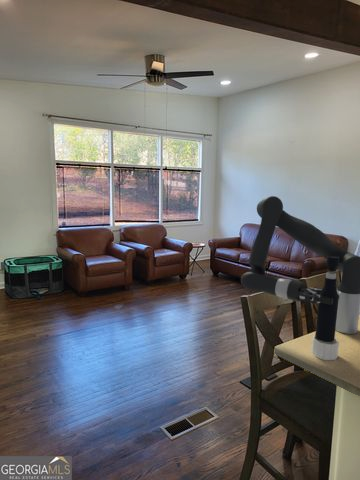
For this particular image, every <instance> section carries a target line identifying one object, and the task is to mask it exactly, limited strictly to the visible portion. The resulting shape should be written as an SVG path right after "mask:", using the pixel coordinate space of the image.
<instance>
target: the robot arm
mask: <svg viewBox="0 0 360 480" xmlns="http://www.w3.org/2000/svg"><path fill="white" fill-rule="evenodd" d="M256 212H257V214H258V216H259V217H260V218H261V219H260V225H259V228H258V232H257V234H256V236H255V238H254V240H253V244H252V246H251V250H250V253H249V258H248V264H249V266H250V271H247V272H244V273H243V274H241V278H240V283H241V286H243V287H244V288H245V289H248V290H251V291H257V292H263V293H265V294H269V295H272V296H277V297H278V298H279V297H280V298H283V299H284V300H285V299H286V300H289V301H290V300H291V301H294V302H298V303H300V302H301V303H302V302H307V303H311V304H315V305H316V304H318V303H325V304H329V305H331V304H333V299H332V298H329V297H324V296H320V293H321V291H322V289H323V288H320V287H317V286H313V287H308V288H307V287H306V286H307V285H306V283H304V282H303V281H299V280H295V279H288V278H282V277H281V278H280V277H276V276H268V275H266V264H267V259H268V255H269V251H270V247H271V242H272V240H273V235H274V233H275V230H276V228H279V229H280V230H282V231H283V232H284V233H285V234H286V235H288V236H290V237H291V238H292V239H294V240H295V242H298V243H299V244H301V245H302V246H304V247H305V248H306V249H308V250H309V251H311V252H312V253H315V254H316V255H318V256H320V257H322V258H323V259H325V260H327V256H337V257H339V263H338V267H336V270H338V271H340V272H341V273H342V276H341V279H340V282H339V283H338V284H337V285H336V289H337V293H338V310H337V320H336V329H335V332H336V331H337V332H339V333H342V334H348V335H355V334H357V333H358V330H359V319H360V256H359V255H356V254H353V253H352V252H349V251H347V250H345V249H343V248H342V247H340V246H338V245H337V244H335V243H334V242H333V240H331V239H330V237H329V236H328V235H326V234H325V232H323V231H322V230H321V229H319V228H318V227H317V226H315V225H314V224H311V223H310V222H307V221H306V220H303V219H301V218H297V217H296V216H294V215H291V214H290V213H288V212H286V211H285V210H284V205H283V201H282V200H281V198H280V197H278V196H275V195H274V196H273V195H271V196H267V197H265V198H262V199H261V200H260V201H259V202H258V204H257V205H256Z"/></svg>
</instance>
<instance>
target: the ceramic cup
mask: <svg viewBox="0 0 360 480" xmlns="http://www.w3.org/2000/svg"><path fill="white" fill-rule="evenodd" d="M339 344H340V341H339V340H338V339H337V338H336V337H335V338H334V341H333V342H324V341H320V340H318V339H317V338H316V337H315V335H313V336H312V341H311V353H312V356H314V357H315V358H317V359H320V360H323V361H335V360H337V359H338V356H339V346H340V345H339Z"/></svg>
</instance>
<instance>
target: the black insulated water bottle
mask: <svg viewBox="0 0 360 480" xmlns="http://www.w3.org/2000/svg"><path fill="white" fill-rule="evenodd" d="M338 263H339V257H337V256H327V259H326V263H325V265H326V266H327V272H326V273H325V274H326V275H325V277H324V285H323V287H322V288H321V289H322V291H321V293H320V296H324V297H329V298H332V299H333V304H331V305H329V304H325V303H317V305H318V306H317V314H316V325H315V335H314V336H315V337H316V338H317V339H318V340H320V341H324V342H333V341H334V338H335V339H336V330H335V329H336V320H337V310H338V293H337V273H336V270H337V268H336V267H338Z"/></svg>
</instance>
